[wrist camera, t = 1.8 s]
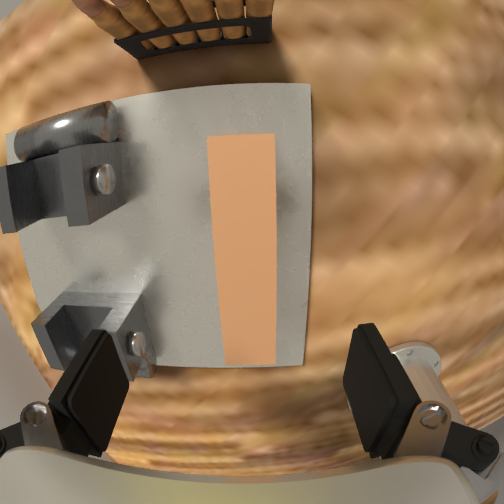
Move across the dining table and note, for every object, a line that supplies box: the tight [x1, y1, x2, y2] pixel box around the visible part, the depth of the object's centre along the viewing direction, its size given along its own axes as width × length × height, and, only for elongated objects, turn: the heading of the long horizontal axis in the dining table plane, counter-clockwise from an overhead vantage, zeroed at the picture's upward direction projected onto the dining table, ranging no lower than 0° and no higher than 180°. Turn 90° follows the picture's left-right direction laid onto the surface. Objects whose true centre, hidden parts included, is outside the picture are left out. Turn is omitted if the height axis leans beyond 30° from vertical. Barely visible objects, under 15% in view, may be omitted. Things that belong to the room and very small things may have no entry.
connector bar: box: [207, 134, 277, 365], centre depth 21 cm, size 17×4×4 cm, turn 2°
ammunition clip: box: [72, 0, 274, 59], centre depth 13 cm, size 11×2×12 cm, turn 93°
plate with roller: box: [0, 83, 312, 381], centre depth 21 cm, size 25×28×7 cm
